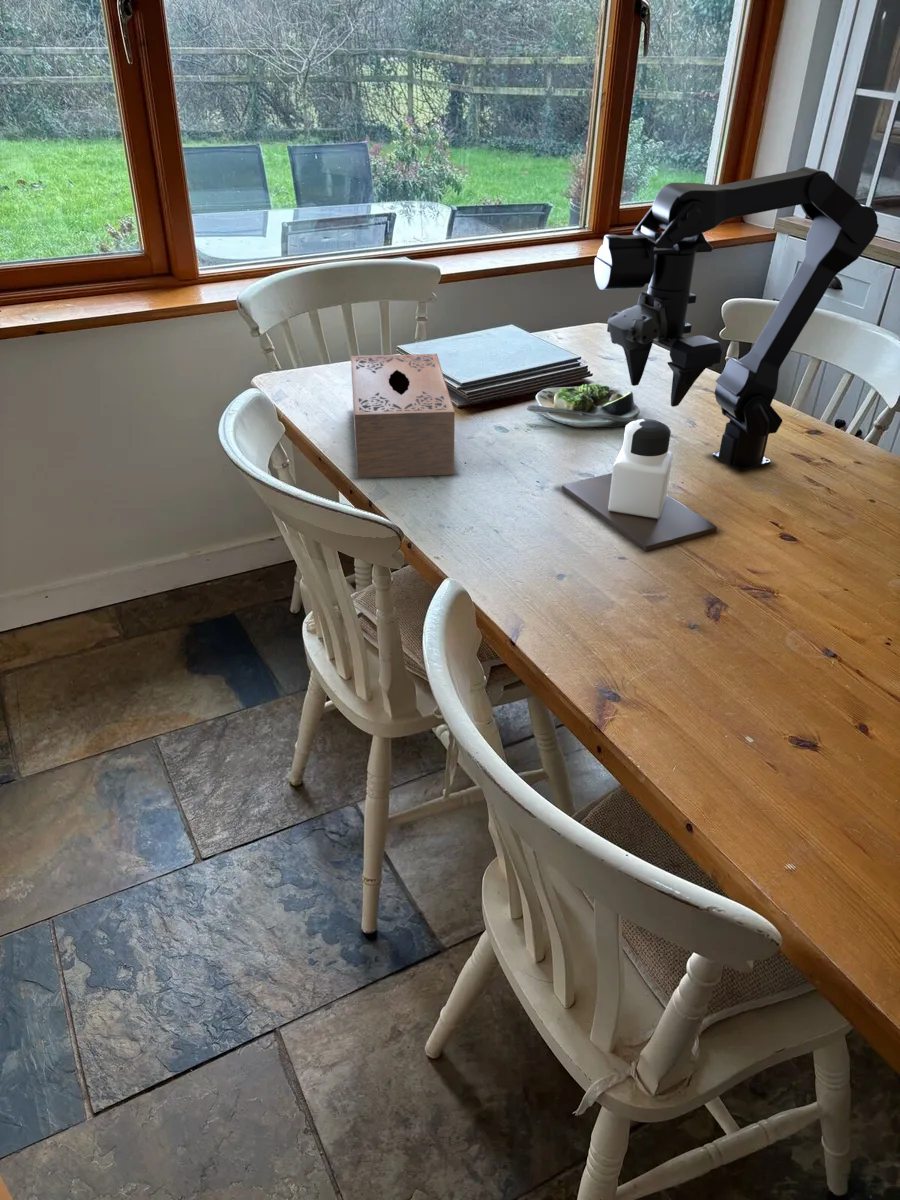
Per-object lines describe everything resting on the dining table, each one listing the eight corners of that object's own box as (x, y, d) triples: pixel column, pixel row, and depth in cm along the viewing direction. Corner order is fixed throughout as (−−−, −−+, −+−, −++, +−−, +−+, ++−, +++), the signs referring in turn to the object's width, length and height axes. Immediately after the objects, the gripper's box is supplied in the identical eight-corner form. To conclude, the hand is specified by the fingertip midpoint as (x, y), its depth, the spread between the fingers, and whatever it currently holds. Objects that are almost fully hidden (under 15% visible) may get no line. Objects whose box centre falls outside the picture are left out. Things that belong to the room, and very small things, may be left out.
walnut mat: (627, 474, 138) (628, 469, 137) (716, 531, 123) (717, 526, 123) (561, 489, 133) (561, 484, 133) (645, 551, 118) (646, 546, 118)
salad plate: (537, 436, 149) (539, 409, 147) (513, 397, 164) (515, 372, 161) (649, 430, 152) (653, 404, 149) (616, 392, 167) (619, 367, 164)
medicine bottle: (666, 497, 130) (679, 418, 123) (659, 520, 124) (672, 438, 117) (616, 489, 132) (626, 411, 125) (607, 511, 126) (617, 430, 119)
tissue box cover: (353, 412, 157) (350, 355, 151) (436, 410, 158) (436, 353, 153) (357, 478, 135) (354, 414, 130) (453, 474, 137) (454, 411, 131)
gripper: (582, 276, 127) (572, 383, 136) (666, 310, 114) (649, 427, 122) (645, 268, 132) (632, 372, 140) (734, 300, 118) (713, 413, 127)
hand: (654, 395), depth 132 cm, fingers open, 9 cm apart
